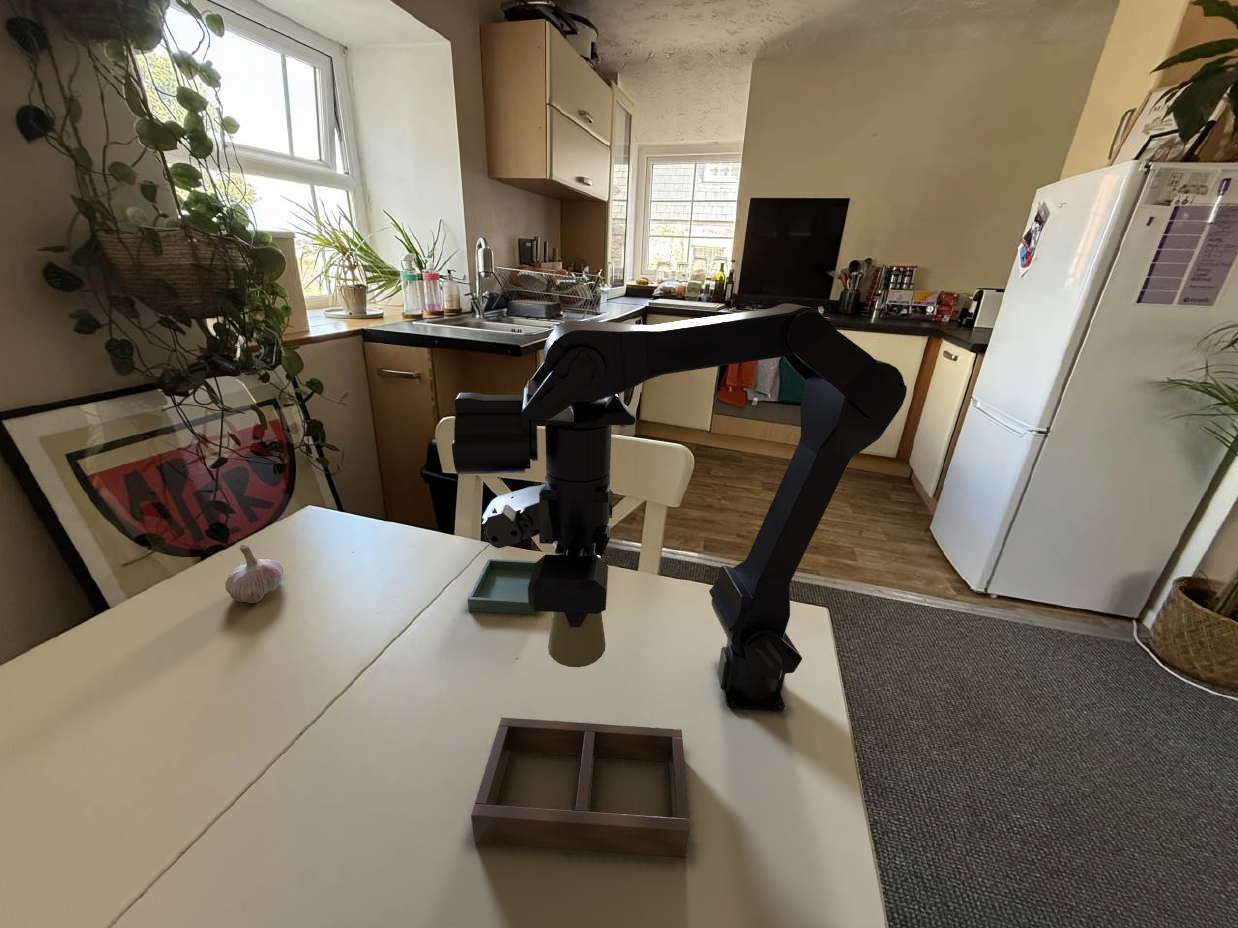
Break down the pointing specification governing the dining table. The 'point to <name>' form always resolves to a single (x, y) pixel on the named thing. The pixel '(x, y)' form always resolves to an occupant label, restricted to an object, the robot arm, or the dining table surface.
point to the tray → (503, 587)
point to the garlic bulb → (253, 578)
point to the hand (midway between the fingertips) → (577, 610)
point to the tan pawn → (576, 640)
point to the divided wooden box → (583, 790)
